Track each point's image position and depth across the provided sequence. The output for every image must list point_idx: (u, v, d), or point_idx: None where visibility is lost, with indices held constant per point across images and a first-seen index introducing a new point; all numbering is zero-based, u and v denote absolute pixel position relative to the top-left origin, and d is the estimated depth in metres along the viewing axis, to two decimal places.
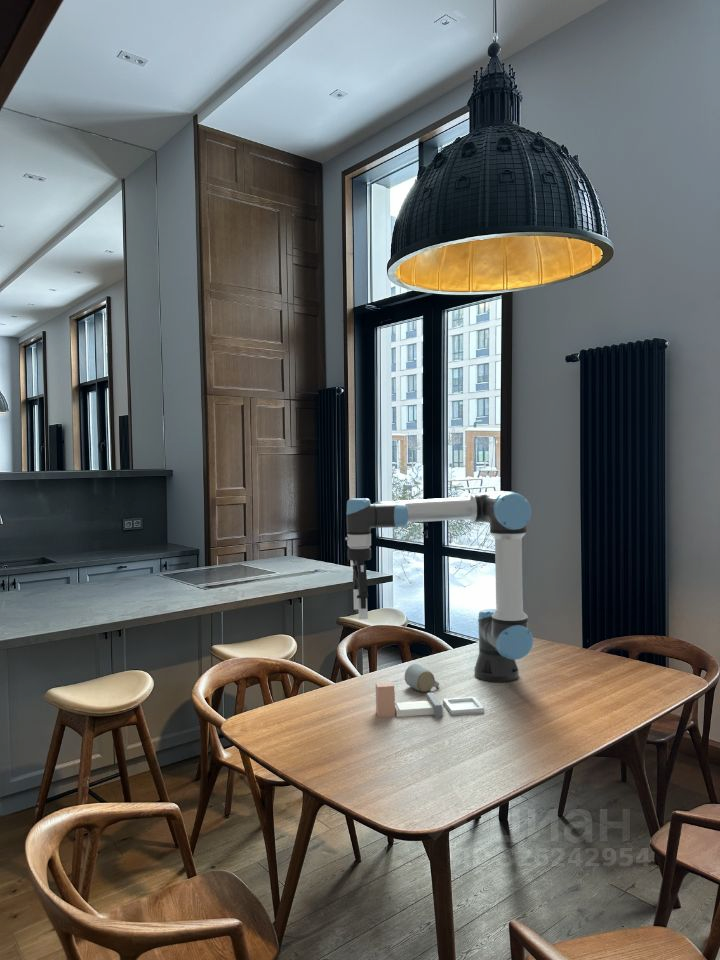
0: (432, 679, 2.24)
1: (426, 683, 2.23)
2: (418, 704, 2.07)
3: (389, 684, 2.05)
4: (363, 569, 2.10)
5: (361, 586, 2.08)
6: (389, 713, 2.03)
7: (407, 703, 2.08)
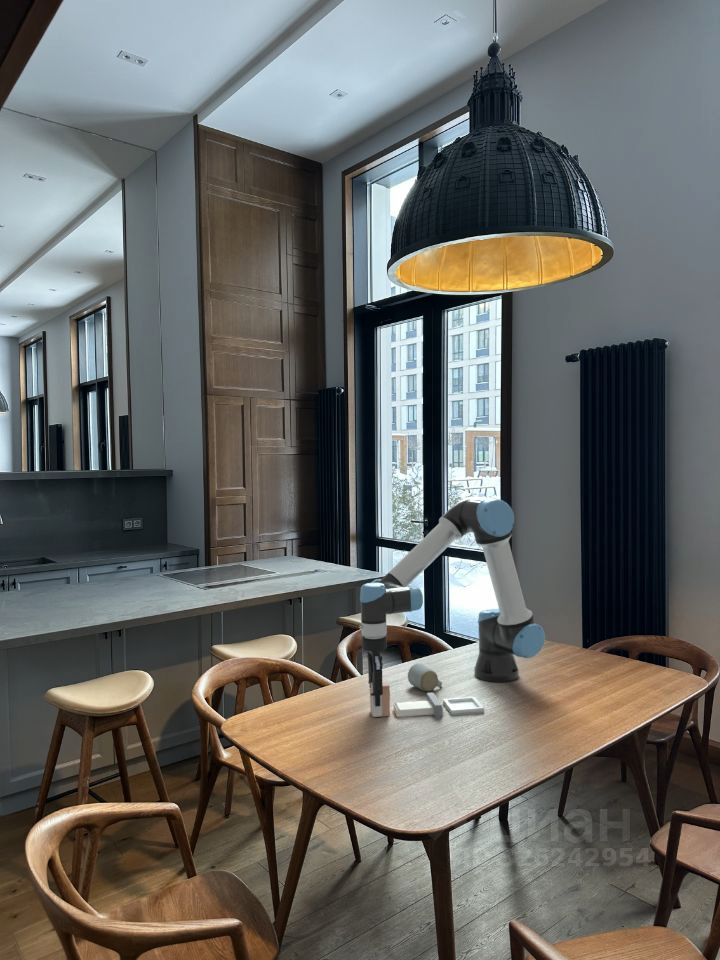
0: (435, 678, 2.24)
1: (429, 682, 2.23)
2: (418, 704, 2.07)
3: (384, 684, 2.05)
4: (379, 667, 1.98)
5: (376, 685, 1.99)
6: (384, 712, 2.03)
7: (407, 703, 2.08)
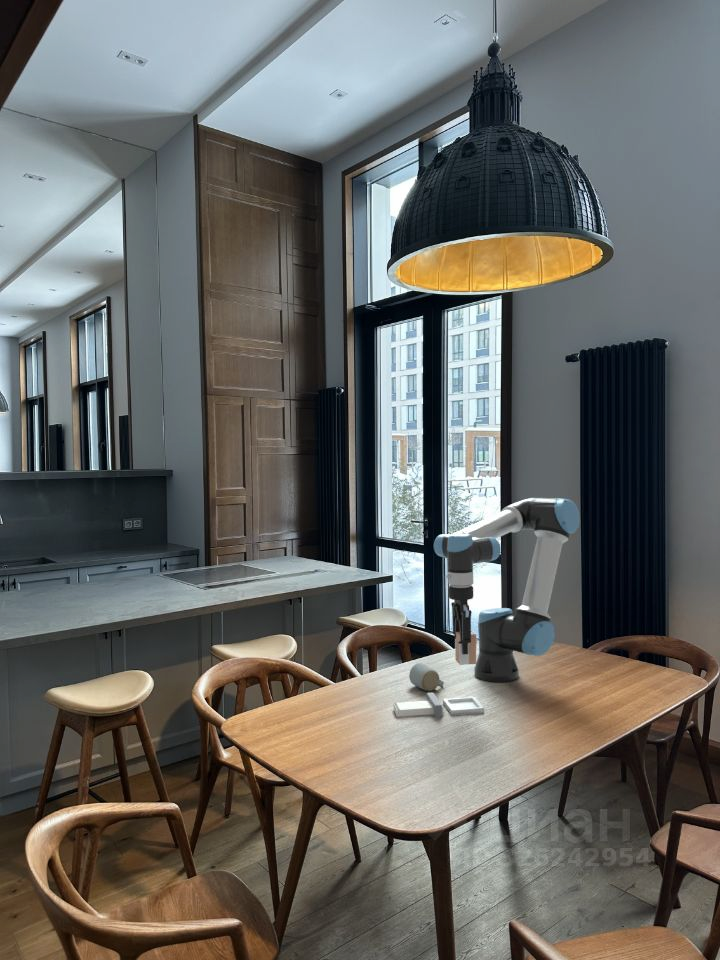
0: (437, 678, 2.25)
1: (431, 682, 2.23)
2: (418, 704, 2.07)
3: None
4: (468, 615, 2.01)
5: (465, 632, 2.02)
6: (470, 661, 2.06)
7: (407, 703, 2.08)
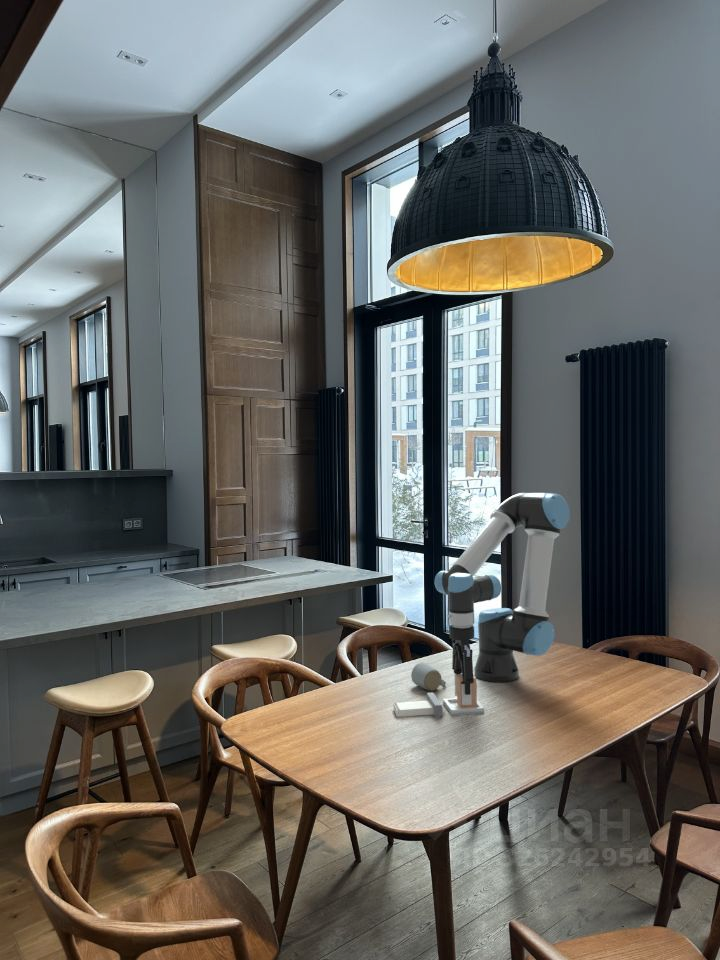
0: (439, 678, 2.25)
1: (433, 682, 2.24)
2: (418, 704, 2.07)
3: None
4: (469, 654, 2.01)
5: (467, 672, 2.01)
6: None
7: (407, 703, 2.08)
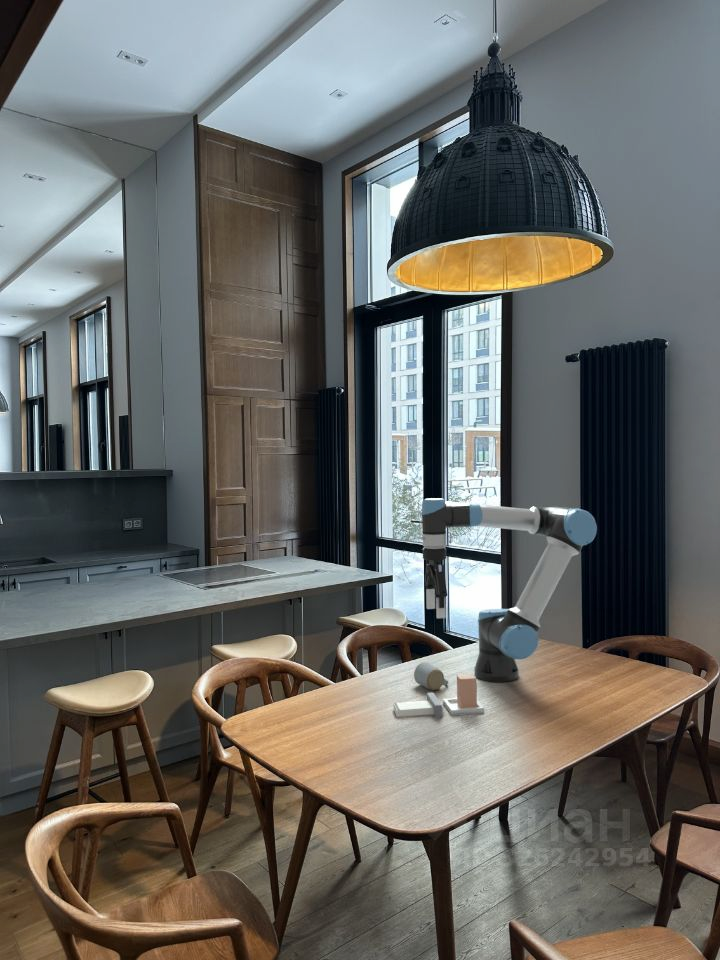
0: (441, 677, 2.25)
1: (435, 681, 2.24)
2: (418, 704, 2.07)
3: (471, 676, 2.08)
4: (441, 569, 2.12)
5: (440, 586, 2.10)
6: (471, 704, 2.07)
7: (407, 703, 2.08)
